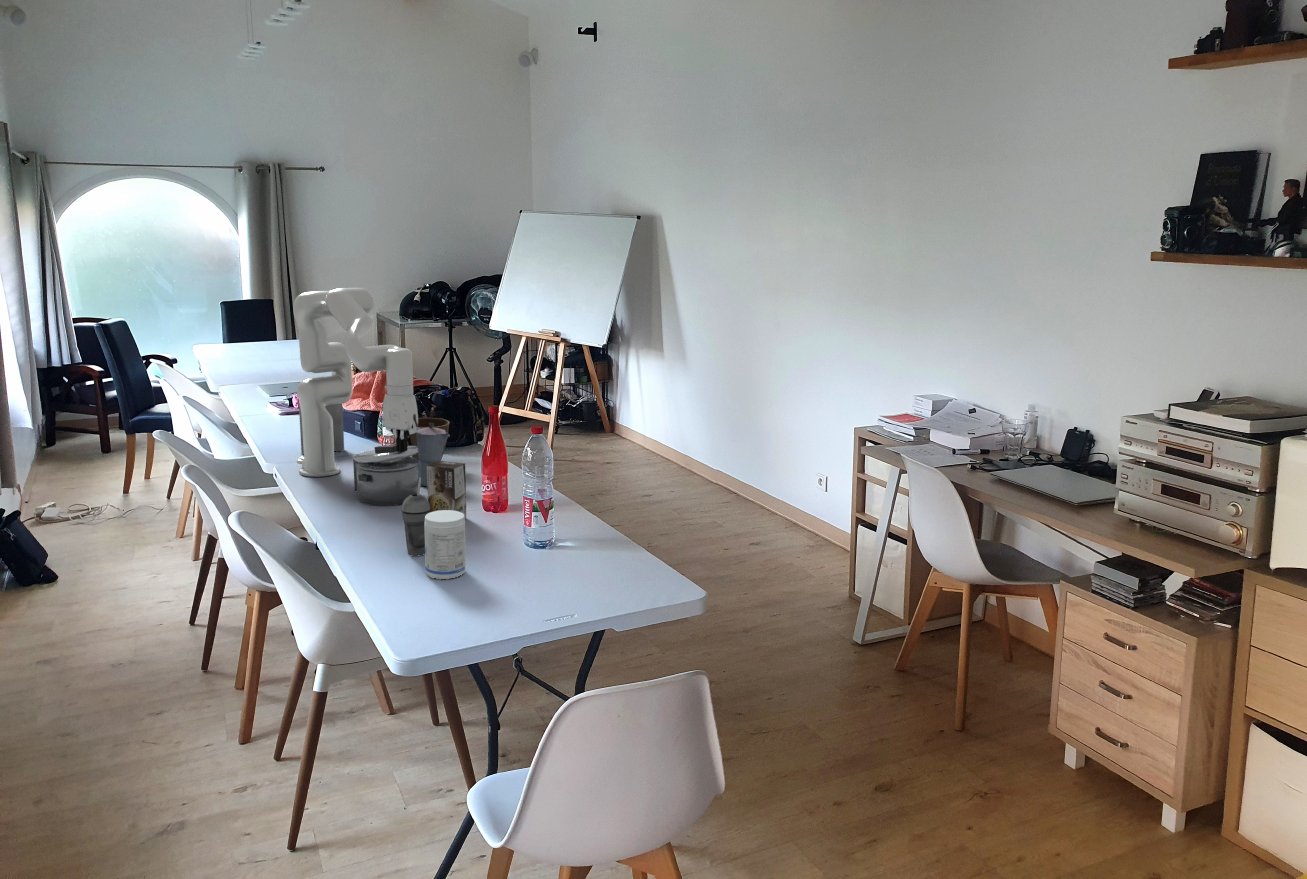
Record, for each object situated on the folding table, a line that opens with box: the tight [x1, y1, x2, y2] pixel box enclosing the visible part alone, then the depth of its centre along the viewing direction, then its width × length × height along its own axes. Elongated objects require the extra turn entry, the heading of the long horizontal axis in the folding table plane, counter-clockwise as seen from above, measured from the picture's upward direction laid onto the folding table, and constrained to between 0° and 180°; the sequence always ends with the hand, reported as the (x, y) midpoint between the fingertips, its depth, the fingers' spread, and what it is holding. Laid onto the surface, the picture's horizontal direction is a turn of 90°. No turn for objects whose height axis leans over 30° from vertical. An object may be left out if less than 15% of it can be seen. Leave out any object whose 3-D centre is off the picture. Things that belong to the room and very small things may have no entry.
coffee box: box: [427, 460, 467, 519], centre depth 270 cm, size 9×6×16 cm
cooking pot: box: [352, 456, 419, 507], centre depth 290 cm, size 20×22×11 cm
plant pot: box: [407, 417, 450, 461], centre depth 324 cm, size 15×15×16 cm
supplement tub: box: [424, 510, 466, 580], centre depth 229 cm, size 10×10×15 cm
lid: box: [353, 444, 419, 463], centre depth 288 cm, size 20×19×3 cm
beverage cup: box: [400, 477, 431, 557], centre depth 242 cm, size 7×7×20 cm
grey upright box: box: [298, 403, 345, 455], centre depth 342 cm, size 15×6×20 cm, turn 125°
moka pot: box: [407, 423, 450, 487], centre depth 305 cm, size 10×15×20 cm, turn 78°
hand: (401, 451), depth 285 cm, fingers closed
